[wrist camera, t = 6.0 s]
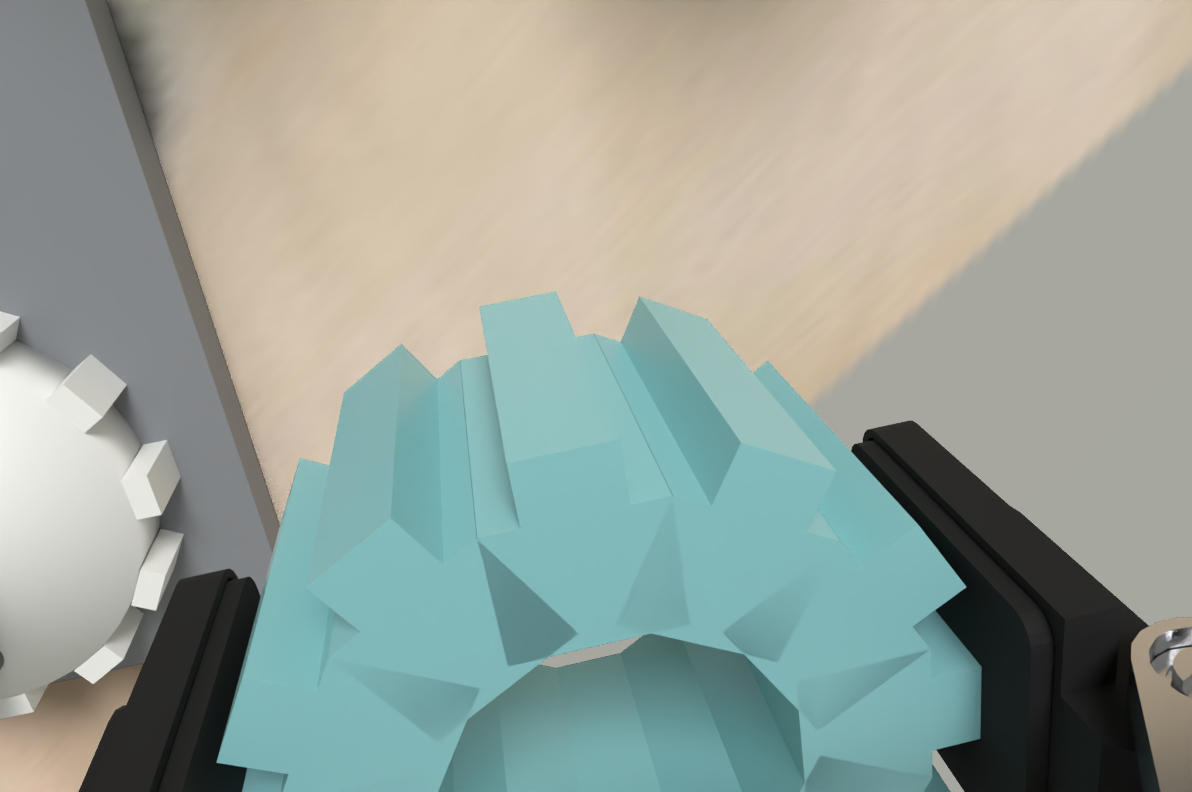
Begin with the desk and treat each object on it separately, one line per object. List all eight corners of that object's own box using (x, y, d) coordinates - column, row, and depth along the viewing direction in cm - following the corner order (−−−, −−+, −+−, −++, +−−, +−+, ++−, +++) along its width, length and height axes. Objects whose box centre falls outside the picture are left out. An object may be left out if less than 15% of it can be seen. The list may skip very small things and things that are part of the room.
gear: (815, 240, 11) (998, 358, 8) (843, 705, 14) (984, 948, 11) (201, 361, 11) (90, 551, 7) (362, 822, 14) (340, 1123, 10)
